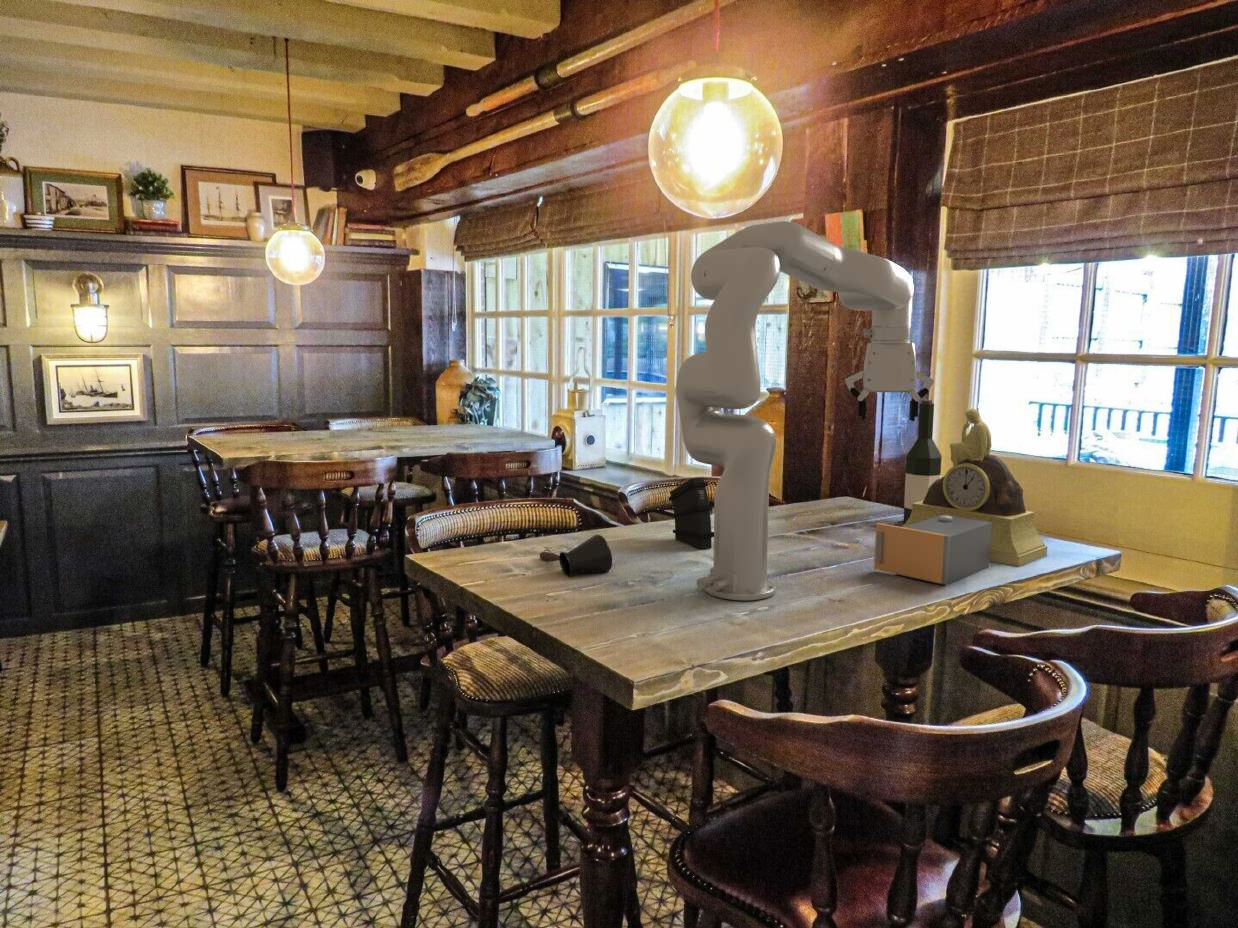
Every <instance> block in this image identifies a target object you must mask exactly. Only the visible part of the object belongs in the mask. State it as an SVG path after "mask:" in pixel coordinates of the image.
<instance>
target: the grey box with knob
mask: <svg viewBox="0 0 1238 928" xmlns="http://www.w3.org/2000/svg"><path fill="white" fill-rule="evenodd" d="M991 527H992V522H986V521H980V520H973V519H967V518H961V517H954V516H948V515H940V516H937V517H934V518H931V519H927V520H924V521H921V522H918V523H915V524H911V525H908V526H905V527H904V528H910V529H916V530H921V531H927V532H933V533H938V534H944V535H950V542H949V559H948V576H947V584H941V583H936V582H932V581H927V580H923V579H918V578H913V577H909V576H904V575H900V574H896V575H898V576H902V577H906V578H911V579H915V580H920V581H925V582H928V583H933V584H937V585H943V586H948V585H950V584H952V583H955V582H957V581H959V580H963V579H964V578H967V577H969V576H971V575H974V574H976V573H978V572H980V571H983V570H986V569H987V568H989V567H990V560H989V558H990V542H991Z"/></svg>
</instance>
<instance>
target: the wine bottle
mask: <svg viewBox="0 0 1238 928" xmlns="http://www.w3.org/2000/svg"><path fill="white" fill-rule="evenodd" d="M934 411H935V403H934V402H933V399H921V402H920V403H919V407H918V430H917V439H916V441H915V442H914V444H913V446H911V448H910V450H909V451H908V453H907V454H906V462H905V465H906V466H905V480H904V481H905V483H904V484H905V485H904V500H903V501H904V502H903V503H904V504H903V521H902V522H903V523H904V524H905V523H906V522H907V520H908V519H909V518H910V515H911V512H912V504H913V503H916V502H920V501H924V499H925V496H926V494H927V492H928V489H929V487H930V486H931V485H932V484H933V483H934V482H935V481H936V480H937V479H941V478H942V477H941V474H942V473H941V472H942V457H943V456H942V454H941V451H940V450H939V448H938V447H937V445H936V443H935V441H934V439H933V434H934V433H933V432H934V413H935V412H934ZM904 524H903V525H904Z"/></svg>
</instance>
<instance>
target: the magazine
mask: <svg viewBox="0 0 1238 928" xmlns="http://www.w3.org/2000/svg"><path fill="white" fill-rule="evenodd" d="M708 486H709V483H708V481H705V478H704V477H703V476H702V477H693V478H690V479H688V480H687V481H685V482H684V483H682V484H681V485H679V486H677V487H675V488H674V489H672V490H670V491H669V494H670V496H669V497H668V501H669V502H671V504H672V507H673V514H671V518H674V527H675V528H674V529H673V530H672V534H674V536H675V537H674V539H675V541H679V542H680V543H682V544H685V545H688V546H690V547H693V548H695V549H698V550H701V551H703V550H710V549H712V538H714V531H712V520H711V510H713V506H712V505H713V504H710V502H709V496H708V495H709V494H708V492H707V490H708V489H707V487H708Z"/></svg>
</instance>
